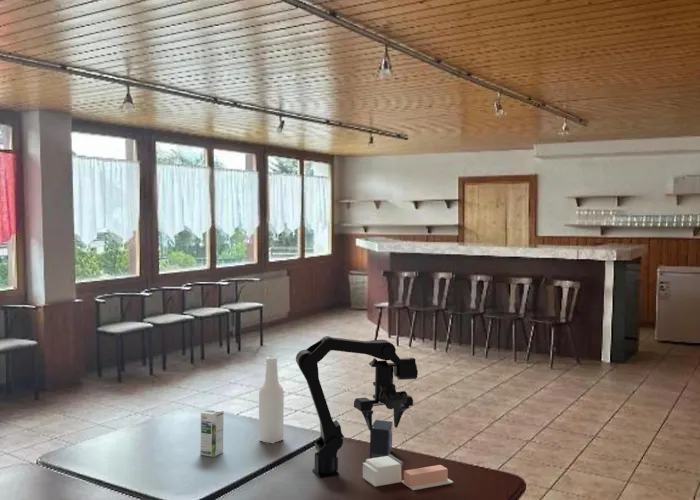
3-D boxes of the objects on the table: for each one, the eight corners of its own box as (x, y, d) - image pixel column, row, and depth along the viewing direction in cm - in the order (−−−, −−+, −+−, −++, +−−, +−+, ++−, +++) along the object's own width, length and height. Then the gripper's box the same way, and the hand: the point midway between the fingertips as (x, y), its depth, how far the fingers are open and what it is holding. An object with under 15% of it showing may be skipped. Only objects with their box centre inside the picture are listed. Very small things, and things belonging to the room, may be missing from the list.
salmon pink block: (410, 487, 195) (410, 475, 195) (403, 482, 198) (403, 470, 198) (447, 480, 200) (447, 468, 200) (440, 475, 204) (440, 464, 204)
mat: (413, 490, 193) (413, 488, 193) (401, 481, 200) (401, 480, 200) (453, 482, 199) (453, 481, 199) (440, 475, 206) (440, 473, 206)
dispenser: (374, 486, 196) (375, 466, 196) (362, 477, 203) (362, 458, 203) (402, 481, 200) (403, 462, 200) (390, 472, 207) (390, 454, 207)
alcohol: (255, 442, 235) (255, 359, 235) (263, 435, 244) (264, 354, 243) (278, 444, 233) (279, 360, 233) (286, 437, 242) (287, 355, 241)
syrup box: (199, 455, 222) (199, 412, 221) (209, 449, 227) (209, 408, 227) (214, 457, 220) (214, 414, 219) (223, 452, 225) (224, 409, 225)
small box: (388, 461, 218) (388, 429, 218) (369, 459, 219) (369, 428, 219) (392, 450, 229) (393, 420, 228) (374, 449, 230) (374, 419, 230)
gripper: (369, 388, 198) (368, 439, 199) (422, 383, 206) (421, 432, 207) (353, 380, 209) (352, 429, 209) (404, 376, 216) (403, 423, 217)
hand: (383, 429), depth 210 cm, fingers open, 9 cm apart
